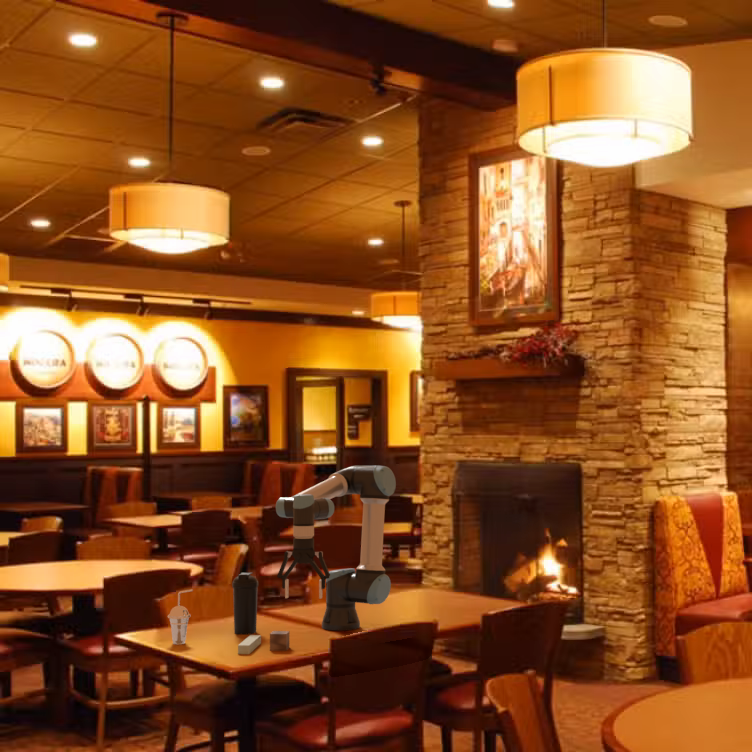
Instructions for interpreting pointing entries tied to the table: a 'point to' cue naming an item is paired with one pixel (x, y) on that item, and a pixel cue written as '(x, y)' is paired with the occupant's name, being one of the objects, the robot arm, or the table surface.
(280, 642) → the block
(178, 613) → the cup with straw
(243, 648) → the cream rectangular bar
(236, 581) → the water bottle
